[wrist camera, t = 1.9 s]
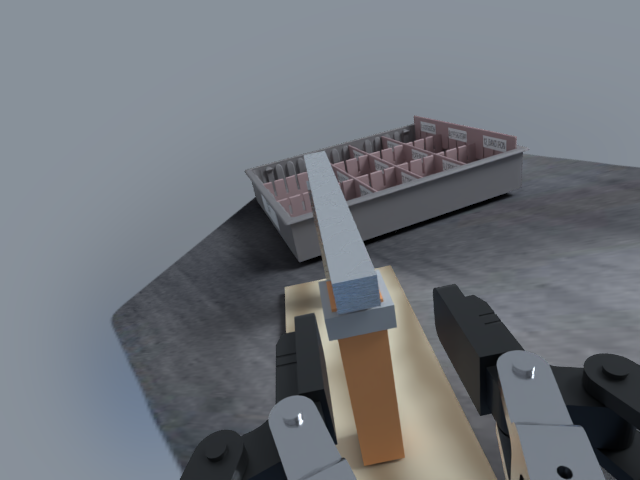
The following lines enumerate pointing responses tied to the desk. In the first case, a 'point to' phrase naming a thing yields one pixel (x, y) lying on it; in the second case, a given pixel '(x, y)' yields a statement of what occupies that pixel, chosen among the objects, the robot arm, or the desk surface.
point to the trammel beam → (340, 240)
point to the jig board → (400, 398)
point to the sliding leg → (368, 372)
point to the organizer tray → (392, 179)
